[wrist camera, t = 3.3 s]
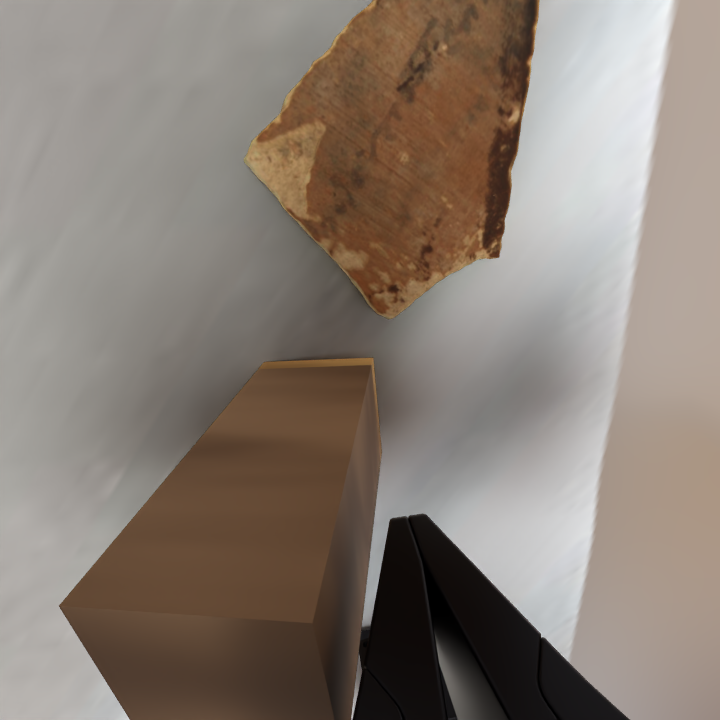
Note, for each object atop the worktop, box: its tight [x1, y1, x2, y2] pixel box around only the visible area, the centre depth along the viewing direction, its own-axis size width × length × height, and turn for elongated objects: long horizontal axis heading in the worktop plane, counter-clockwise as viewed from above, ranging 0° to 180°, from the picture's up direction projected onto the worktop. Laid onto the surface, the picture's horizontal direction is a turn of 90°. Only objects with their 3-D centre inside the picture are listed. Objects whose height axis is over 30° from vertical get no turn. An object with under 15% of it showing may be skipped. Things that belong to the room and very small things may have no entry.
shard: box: [244, 0, 539, 319], centre depth 11 cm, size 11×8×2 cm
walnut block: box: [59, 358, 382, 720], centre depth 10 cm, size 4×4×9 cm
